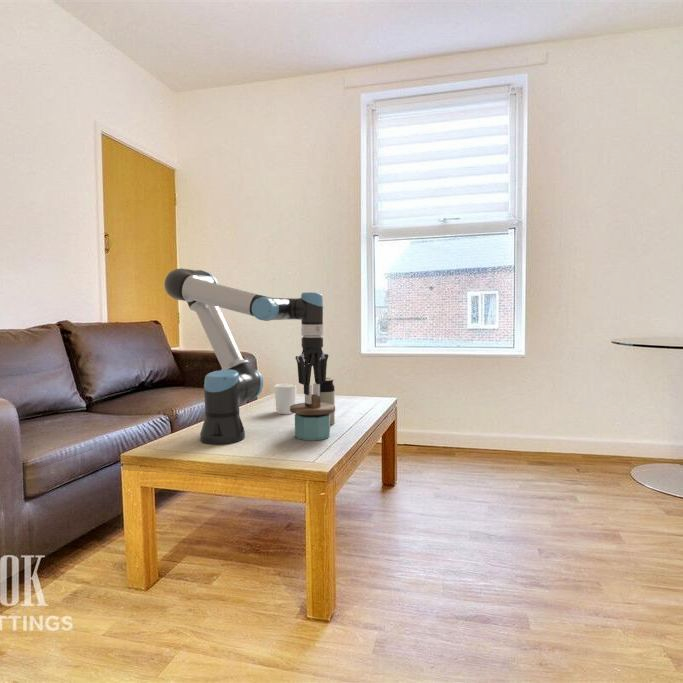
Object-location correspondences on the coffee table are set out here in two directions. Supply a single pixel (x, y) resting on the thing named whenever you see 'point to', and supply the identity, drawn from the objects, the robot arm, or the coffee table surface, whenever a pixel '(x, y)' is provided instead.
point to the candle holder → (285, 397)
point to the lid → (312, 407)
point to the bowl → (312, 427)
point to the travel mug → (328, 395)
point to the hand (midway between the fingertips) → (312, 402)
